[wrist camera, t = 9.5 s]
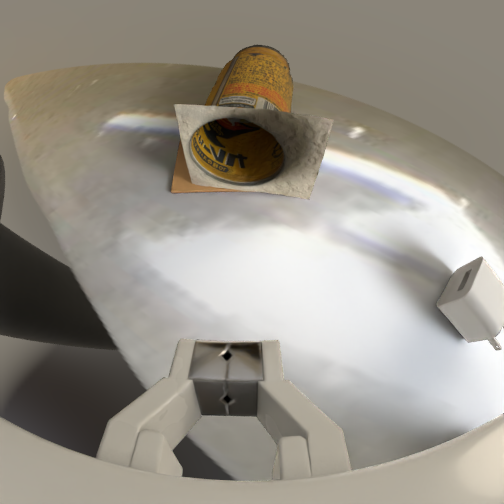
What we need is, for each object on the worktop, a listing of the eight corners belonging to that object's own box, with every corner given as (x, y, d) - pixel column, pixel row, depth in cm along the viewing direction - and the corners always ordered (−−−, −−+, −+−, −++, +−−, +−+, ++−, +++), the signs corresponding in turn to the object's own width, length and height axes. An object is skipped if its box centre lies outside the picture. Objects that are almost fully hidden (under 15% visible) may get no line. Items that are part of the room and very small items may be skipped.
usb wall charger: (454, 270, 18) (485, 253, 14) (495, 323, 17) (527, 314, 13) (433, 308, 17) (467, 296, 13) (478, 361, 16) (512, 358, 12)
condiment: (191, 186, 20) (225, 93, 25) (309, 201, 19) (311, 103, 24) (172, 106, 13) (222, 29, 18) (334, 123, 13) (324, 40, 18)
